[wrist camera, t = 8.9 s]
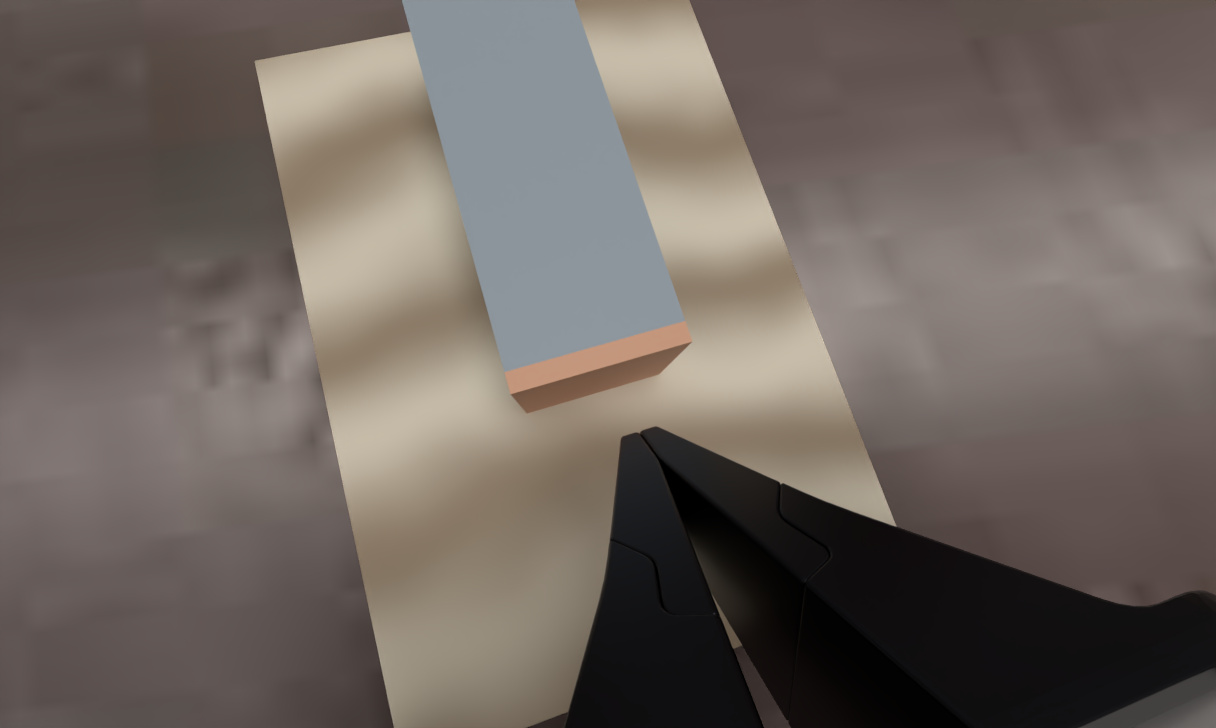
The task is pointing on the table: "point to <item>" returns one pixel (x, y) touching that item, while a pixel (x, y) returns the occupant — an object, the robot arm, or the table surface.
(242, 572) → the table surface
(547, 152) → the pillar
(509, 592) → the board
